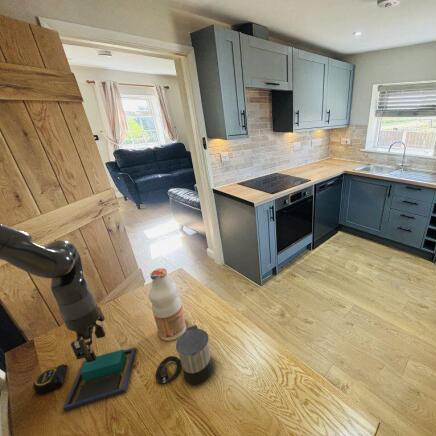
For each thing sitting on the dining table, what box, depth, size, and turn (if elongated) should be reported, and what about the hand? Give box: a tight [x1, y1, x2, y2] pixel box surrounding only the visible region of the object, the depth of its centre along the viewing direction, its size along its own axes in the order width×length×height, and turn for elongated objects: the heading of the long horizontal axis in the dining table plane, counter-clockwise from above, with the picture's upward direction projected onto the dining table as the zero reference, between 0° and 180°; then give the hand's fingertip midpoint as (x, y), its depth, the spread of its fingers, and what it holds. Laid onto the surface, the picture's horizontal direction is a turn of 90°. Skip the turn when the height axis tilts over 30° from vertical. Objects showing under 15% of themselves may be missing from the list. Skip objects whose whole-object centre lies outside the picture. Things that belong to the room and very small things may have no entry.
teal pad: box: [81, 349, 128, 384], centre depth 76 cm, size 10×5×5 cm, turn 111°
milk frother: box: [155, 324, 214, 386], centre depth 74 cm, size 14×16×15 cm
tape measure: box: [32, 363, 69, 395], centre depth 72 cm, size 7×7×4 cm
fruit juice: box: [148, 267, 187, 342], centre depth 86 cm, size 9×9×28 cm
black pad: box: [74, 373, 122, 402], centre depth 71 cm, size 10×5×2 cm, turn 111°
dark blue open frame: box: [62, 347, 137, 412], centre depth 74 cm, size 15×15×2 cm
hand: (96, 348), depth 73 cm, fingers open, 8 cm apart
